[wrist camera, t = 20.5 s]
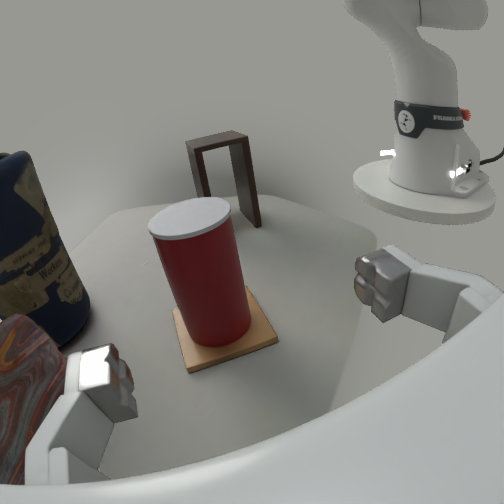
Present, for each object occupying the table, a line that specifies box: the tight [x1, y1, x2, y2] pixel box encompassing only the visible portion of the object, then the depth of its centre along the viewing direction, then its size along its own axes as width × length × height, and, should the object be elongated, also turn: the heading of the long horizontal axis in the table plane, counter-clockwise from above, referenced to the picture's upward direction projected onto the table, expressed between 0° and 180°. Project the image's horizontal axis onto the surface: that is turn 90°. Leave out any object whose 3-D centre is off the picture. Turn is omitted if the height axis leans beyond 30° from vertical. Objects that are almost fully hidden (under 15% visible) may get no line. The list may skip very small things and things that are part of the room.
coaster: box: [172, 286, 278, 373], centre depth 24 cm, size 7×7×1 cm
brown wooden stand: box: [186, 131, 262, 227], centre depth 36 cm, size 6×6×11 cm
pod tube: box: [148, 197, 251, 347], centre depth 21 cm, size 5×5×9 cm
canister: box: [0, 151, 90, 348], centre depth 21 cm, size 10×10×18 cm
